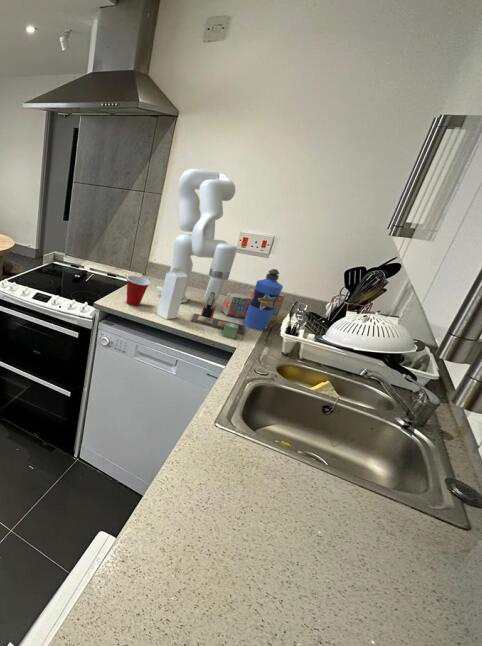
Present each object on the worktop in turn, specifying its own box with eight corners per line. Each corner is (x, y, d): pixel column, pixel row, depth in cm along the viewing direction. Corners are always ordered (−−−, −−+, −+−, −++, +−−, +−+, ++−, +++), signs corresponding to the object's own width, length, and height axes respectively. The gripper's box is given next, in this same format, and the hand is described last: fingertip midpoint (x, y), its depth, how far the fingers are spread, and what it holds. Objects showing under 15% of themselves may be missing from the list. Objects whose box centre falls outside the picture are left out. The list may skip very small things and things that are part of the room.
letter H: (200, 315, 167) (203, 305, 165) (202, 312, 170) (204, 302, 169) (212, 318, 165) (215, 308, 163) (213, 315, 168) (216, 305, 167)
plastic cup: (139, 310, 175) (145, 284, 170) (117, 302, 181) (122, 278, 176) (149, 304, 183) (154, 280, 178) (128, 297, 189) (132, 274, 184)
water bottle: (269, 331, 163) (291, 274, 153) (245, 327, 165) (265, 270, 155) (263, 323, 172) (284, 268, 162) (240, 319, 174) (259, 265, 164)
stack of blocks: (226, 316, 176) (235, 290, 172) (221, 311, 182) (229, 285, 177) (275, 321, 175) (285, 295, 170) (268, 316, 181) (278, 291, 176)
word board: (190, 321, 167) (191, 319, 167) (194, 314, 175) (194, 313, 175) (243, 334, 158) (243, 333, 158) (244, 326, 166) (244, 325, 166)
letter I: (221, 335, 156) (225, 325, 154) (222, 331, 159) (226, 321, 157) (234, 338, 154) (237, 328, 152) (235, 335, 157) (238, 324, 155)
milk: (176, 318, 170) (190, 269, 161) (166, 319, 167) (179, 269, 158) (166, 312, 175) (179, 264, 166) (156, 313, 172) (168, 265, 163)
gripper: (211, 268, 169) (200, 307, 176) (206, 276, 155) (194, 318, 162) (230, 272, 166) (218, 311, 173) (227, 280, 152) (214, 323, 159)
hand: (207, 314), depth 167 cm, fingers closed on letter H, 4 cm apart
